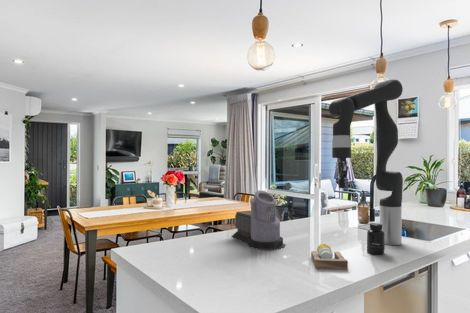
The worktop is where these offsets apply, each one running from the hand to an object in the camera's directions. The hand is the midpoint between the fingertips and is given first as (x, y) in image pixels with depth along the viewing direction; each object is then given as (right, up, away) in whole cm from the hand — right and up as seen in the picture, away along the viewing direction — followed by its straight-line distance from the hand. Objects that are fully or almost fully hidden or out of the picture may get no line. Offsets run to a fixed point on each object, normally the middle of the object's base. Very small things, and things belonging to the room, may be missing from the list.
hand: (341, 188), depth 135 cm
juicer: (-34, -27, +17) cm, 47 cm away
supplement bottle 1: (-9, -24, -5) cm, 26 cm away
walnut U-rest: (-9, -27, -14) cm, 32 cm away
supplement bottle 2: (+14, -27, -1) cm, 31 cm away
